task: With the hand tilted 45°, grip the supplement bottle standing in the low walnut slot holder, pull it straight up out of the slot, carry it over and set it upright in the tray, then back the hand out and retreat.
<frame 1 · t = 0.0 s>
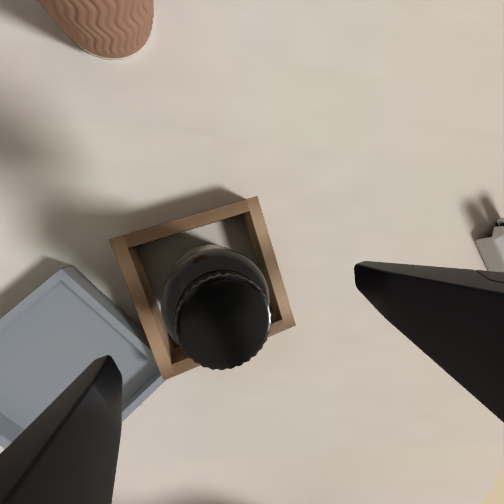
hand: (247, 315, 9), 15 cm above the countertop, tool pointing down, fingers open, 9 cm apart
supplement bottle: (208, 279, 24), resting in slot holder
coffee cup: (108, 18, 21), on the countertop
tray: (70, 366, 22), on the countertop
slot holder: (208, 280, 24), on the countertop
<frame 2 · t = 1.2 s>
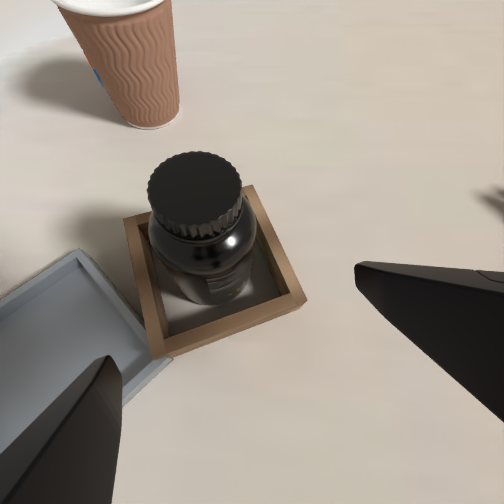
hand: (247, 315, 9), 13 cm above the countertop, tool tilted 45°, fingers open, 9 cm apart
supplement bottle: (213, 271, 24), resting in slot holder
coffee cup: (152, 112, 33), on the countertop
tray: (61, 358, 20), on the countertop
slot holder: (213, 270, 24), on the countertop
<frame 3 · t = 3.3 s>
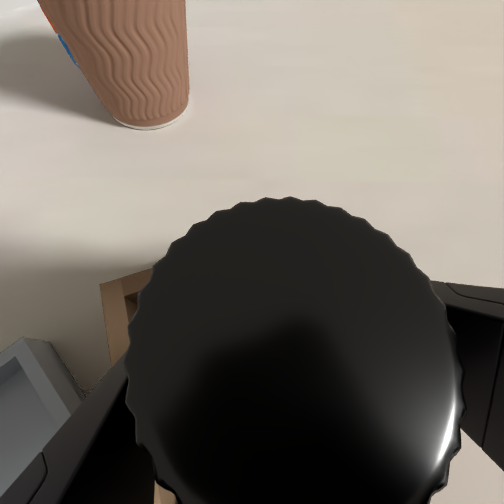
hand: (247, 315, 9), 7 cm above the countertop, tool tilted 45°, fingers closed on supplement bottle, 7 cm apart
supplement bottle: (250, 362, 15), resting in slot holder, touching gripper
coffee cup: (150, 106, 23), on the countertop
slot holder: (251, 362, 14), on the countertop
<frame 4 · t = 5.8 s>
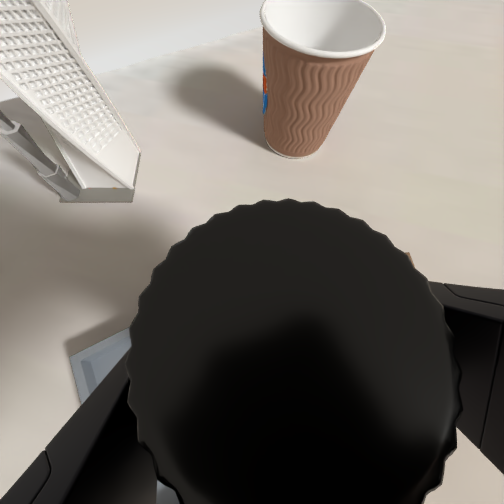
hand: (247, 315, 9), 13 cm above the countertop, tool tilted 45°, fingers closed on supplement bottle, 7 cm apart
supplement bottle: (254, 360, 15), point 6 cm above the countertop, touching gripper
coffee cup: (292, 139, 32), on the countertop
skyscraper: (111, 173, 28), on the countertop
tray: (188, 391, 19), on the countertop
when the fingers open (8 cm above the countertop, at t = 7.9 s): supplement bottle stays where it is, resting on tray.
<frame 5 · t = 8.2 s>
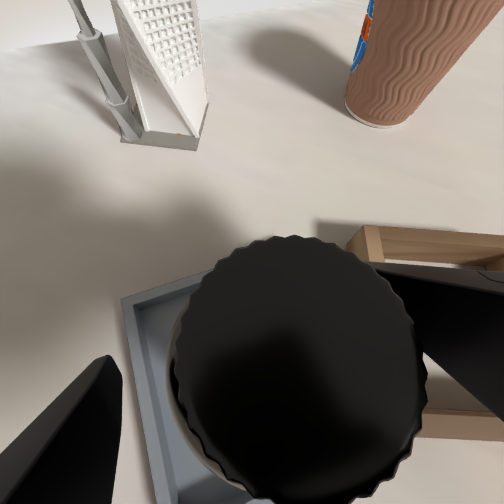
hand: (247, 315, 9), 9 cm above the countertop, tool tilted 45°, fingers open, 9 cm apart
supplement bottle: (255, 363, 16), resting on tray
coffee cup: (374, 108, 28), on the countertop
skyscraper: (176, 121, 26), on the countertop
tray: (249, 363, 16), on the countertop
slot holder: (440, 326, 18), on the countertop
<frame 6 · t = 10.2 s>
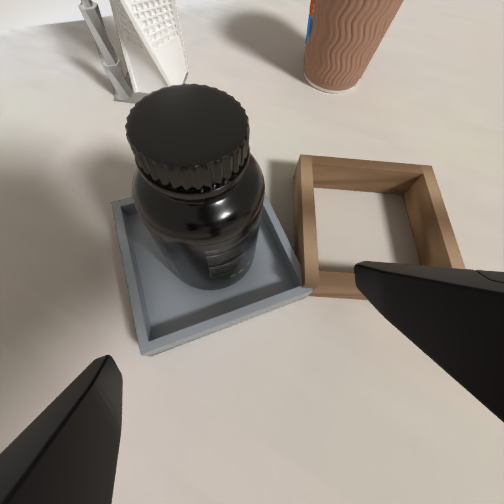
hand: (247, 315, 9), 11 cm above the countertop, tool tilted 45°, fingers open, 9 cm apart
supplement bottle: (212, 252, 21), resting on tray
coffee cup: (329, 78, 33), on the countertop
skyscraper: (160, 86, 31), on the countertop
tray: (209, 254, 21), on the countertop
slot holder: (360, 234, 23), on the countertop
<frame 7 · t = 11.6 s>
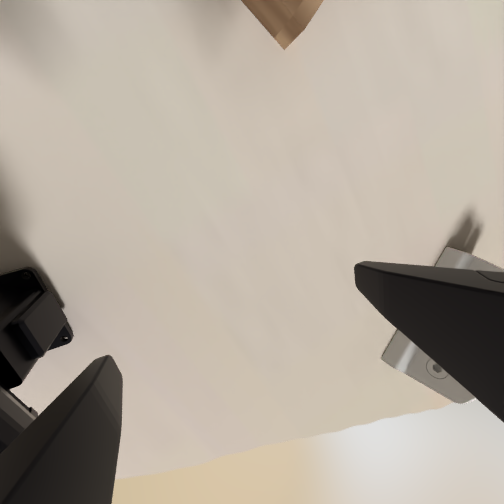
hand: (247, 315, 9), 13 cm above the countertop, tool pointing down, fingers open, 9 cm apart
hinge: (428, 310, 33), on the countertop
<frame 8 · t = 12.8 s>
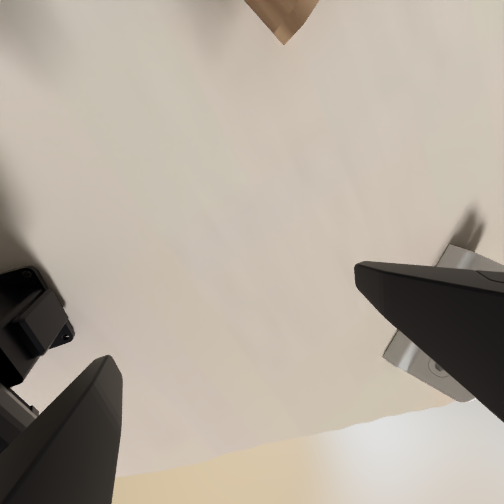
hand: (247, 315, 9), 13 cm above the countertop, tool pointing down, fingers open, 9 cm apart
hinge: (430, 308, 33), on the countertop
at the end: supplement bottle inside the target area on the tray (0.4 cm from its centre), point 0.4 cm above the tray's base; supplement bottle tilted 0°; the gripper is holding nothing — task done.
